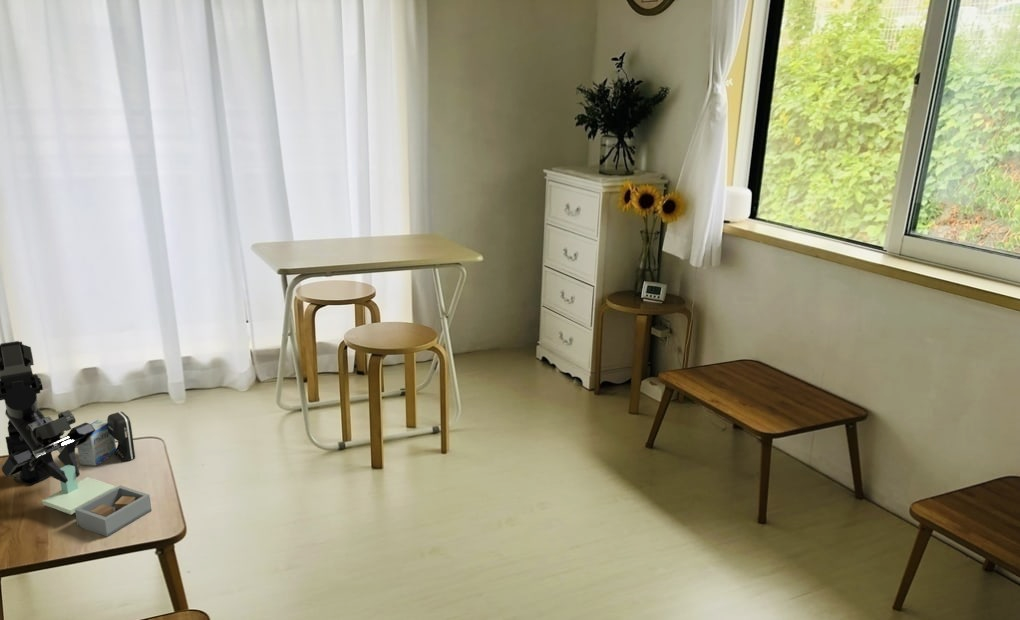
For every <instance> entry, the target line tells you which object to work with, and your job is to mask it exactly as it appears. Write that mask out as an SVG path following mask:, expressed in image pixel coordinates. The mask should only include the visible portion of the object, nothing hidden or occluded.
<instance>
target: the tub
mask: <svg viewBox="0 0 1020 620" xmlns="http://www.w3.org/2000/svg"><path fill="white" fill-rule="evenodd" d="M122 496H127V497H136V500H135V501H133V502H132V503H130V504H128V505H126V506H125V507H123V508H121V509H119V510H118V511H116V510H115V503H116V502H117V501H118V500H119V499H120V498H121V497H122ZM101 505H106V506H109V507H112V508H113V512H114V513H112V514H110V515H109V516H107V517H103V516H101V515H98V514H95V513H92V512H90V511H92V510H94V509H95V508H97V507H99V506H101ZM152 510H153V509H152V504H151V497H150V494H149V493H145V492H143V491H138V490H136V489H133V488H129V487H127V486H123V485H118V486H116V488H115V489H113V490H111V491H109V492H107V493H105V494H103V495H101V496H100V497H98V498H96V499H94V500H92V501H90V502H88V503H86V504H85V505H83V506H81V507H79V508H77V509H75V519H76V523H77V524H76V525H77V527H79V528H81V529H85V530H87V531H90V532H93V533H95V534H98V535H101V536H103V537H106V536H107V537H106V538H108V537H110V536H111V535H113V534H115V533H116V532H119V531H120V530H122V529H123V528H125V527H127V526H128V525H130V524H132V523H134V522H136V521H137V520H138V519H140V518H142V517H144V516H145V515H148V514H149V513H150V512H152ZM109 535H110V536H109Z"/></svg>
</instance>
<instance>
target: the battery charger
mask: <svg viewBox="0 0 1020 620" xmlns="http://www.w3.org/2000/svg"><path fill="white" fill-rule="evenodd" d="M106 421H107V424H108V432H109V433H110V435H112V436H113V437H114V438H115V441H117V445H116V451H115V453H114V455H115V456H116V457H117V458H118V459H119V460H120V461H121V462H126V461H132V460H134V459H135V458H136V453H135V444H134V437H133V436H134V435H133V431H132V430H133V429H132V423H131V420H130V417H129V416H128V415H127V414H125V412H123V411H117V412H115V413H111V414H109V415H108V416H107V419H106Z"/></svg>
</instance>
